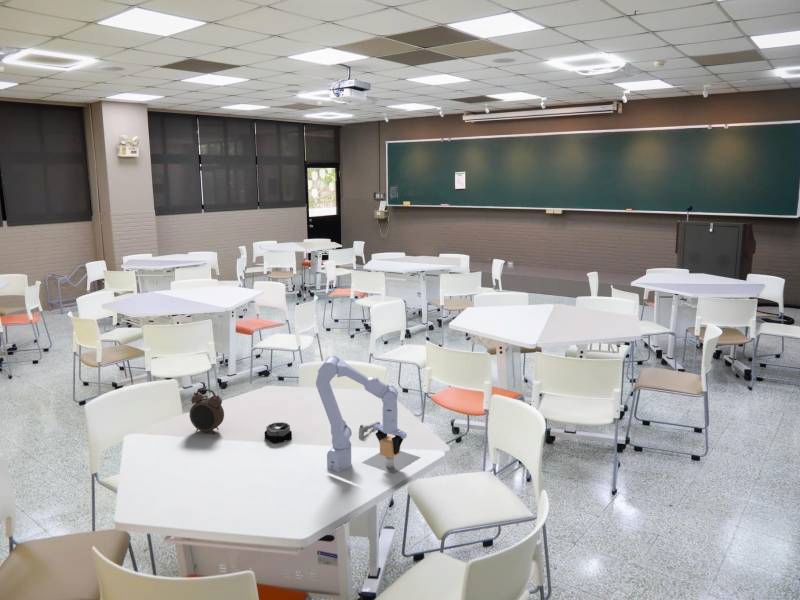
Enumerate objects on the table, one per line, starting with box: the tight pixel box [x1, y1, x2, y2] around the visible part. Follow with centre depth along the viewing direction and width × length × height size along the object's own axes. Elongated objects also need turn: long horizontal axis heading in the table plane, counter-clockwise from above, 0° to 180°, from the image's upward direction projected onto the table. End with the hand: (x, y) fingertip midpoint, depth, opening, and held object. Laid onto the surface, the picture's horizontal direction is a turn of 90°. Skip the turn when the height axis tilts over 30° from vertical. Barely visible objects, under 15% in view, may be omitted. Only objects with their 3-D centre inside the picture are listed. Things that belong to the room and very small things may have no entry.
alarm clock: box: [189, 388, 225, 435], centre depth 272 cm, size 14×7×20 cm, turn 76°
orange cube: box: [379, 435, 401, 458], centre depth 238 cm, size 6×6×6 cm
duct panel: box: [361, 450, 421, 475], centre depth 244 cm, size 18×16×5 cm
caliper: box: [358, 421, 381, 439], centre depth 275 cm, size 21×1×6 cm, turn 158°
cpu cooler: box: [264, 422, 293, 445], centre depth 267 cm, size 10×6×10 cm
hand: (389, 451), depth 238 cm, fingers closed on orange cube, 6 cm apart
